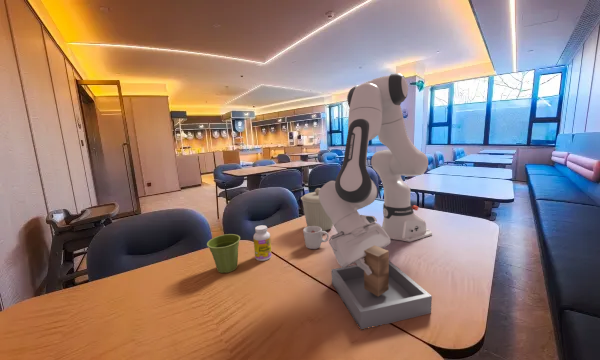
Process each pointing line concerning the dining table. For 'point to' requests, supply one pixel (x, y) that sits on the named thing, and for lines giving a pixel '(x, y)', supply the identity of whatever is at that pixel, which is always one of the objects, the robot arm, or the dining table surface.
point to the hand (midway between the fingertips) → (378, 269)
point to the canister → (315, 211)
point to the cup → (314, 237)
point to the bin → (380, 297)
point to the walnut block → (377, 270)
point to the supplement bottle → (262, 243)
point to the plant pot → (225, 252)
